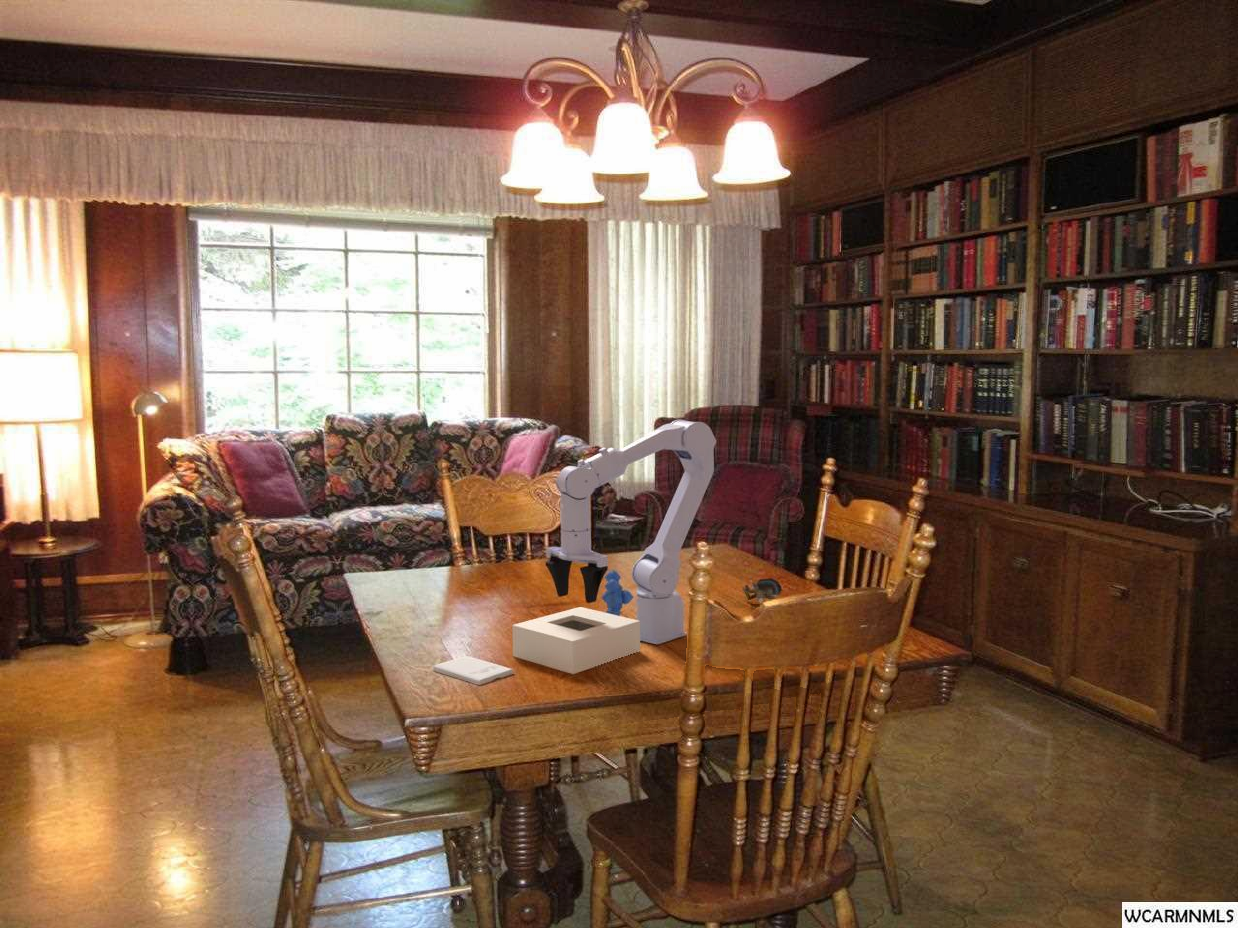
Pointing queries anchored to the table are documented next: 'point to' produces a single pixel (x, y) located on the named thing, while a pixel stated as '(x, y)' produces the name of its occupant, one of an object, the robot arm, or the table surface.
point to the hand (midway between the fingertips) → (576, 598)
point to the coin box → (576, 639)
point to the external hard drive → (472, 670)
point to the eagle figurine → (763, 589)
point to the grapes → (615, 594)
